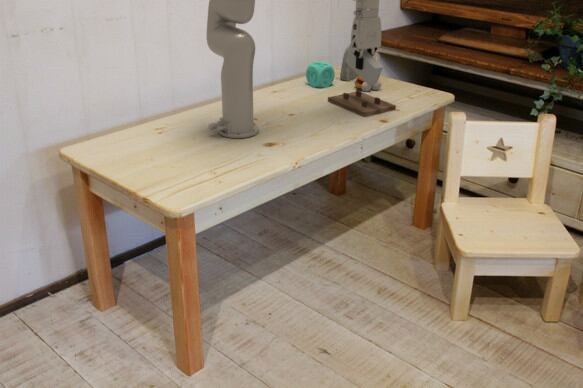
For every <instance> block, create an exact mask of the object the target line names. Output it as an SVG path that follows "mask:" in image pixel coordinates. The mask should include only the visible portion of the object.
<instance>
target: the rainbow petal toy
mask: <svg viewBox="0 0 583 388" xmlns="http://www.w3.org/2000/svg"><path fill="white" fill-rule="evenodd" d="M354 79H355V80H354V86H355V87H356V88H359V89H361V90H362V91H363V92H369V91H370V90H371V89H372V90H373V91H379V90H380V89H381V87H382V82H381V81H380V80H379V79H378V82H377V84H374V85H370V86H369V85H368V84H367V83H366V82H365V81H364V80H363V79H362V78H361V77H359V76H357V78H354Z"/></svg>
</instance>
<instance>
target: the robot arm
mask: <svg viewBox="0 0 583 388" xmlns="http://www.w3.org/2000/svg"><path fill="white" fill-rule="evenodd" d="M353 1H354V2H355V10H353V16H355V17H353V22H352V26H351V33H350V44H351V45H350V44H349V45H350V47H349V49H348V50H349V51H350V52H352V53H353V54H354V56H355V57H356V68H357V69H360V70H362V69H363V58H362V55H363V50H364V49H365V50H366V51H367V52H368V53H369V54H370V55H371V56H372V57H374V56H375V53H376V52H377V50H378V49H380V48H381V46H382V21H381V16H379V12H380V11H379V10H380V9H379V8H380V0H353ZM255 5H256V0H209V1H208V8H207V22H206V23H207V24H206V44H207V46H208V48H209V49H210V51H211V52H212V53H214V54H215V55H217V56H218V57H219V56H220V57H222V58H223V61H222V65H221V66H222V67H221V71H220V83H221V84H220V85H221V86H220V87H221V89H220V90H221V107H222V108H221V113H222V117H219V120H218V121H217V122H214V123H209V124H208V130H209V131H212V130H213V131H214V130H215V131H217V132H218V134H219V135H220V136H223V137H225V138H230V139H245V138H246V139H247V138H251V137H254V136H256V135H257V134H258V133H259V132H260V130H259V126H258V125H257V124H256V123H254V122H255V121H254V79H253V77H254V76H253V75H254V74H253V73H254V72H253V71H254V61H255V55H256V43H255V40H254V39H253V36H252V35H251V34H250V33H249V32H247V31H246V30H244V29H241V28H239V27H237V24H238V25H245V24H247V23H249V22H251V20H252V19H253V17H254V14H255ZM355 47H356V48H355Z"/></svg>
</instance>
